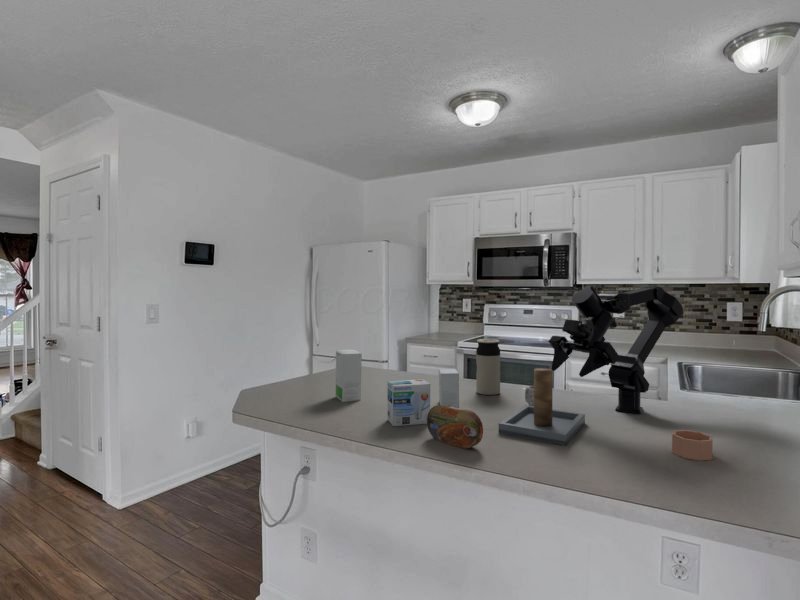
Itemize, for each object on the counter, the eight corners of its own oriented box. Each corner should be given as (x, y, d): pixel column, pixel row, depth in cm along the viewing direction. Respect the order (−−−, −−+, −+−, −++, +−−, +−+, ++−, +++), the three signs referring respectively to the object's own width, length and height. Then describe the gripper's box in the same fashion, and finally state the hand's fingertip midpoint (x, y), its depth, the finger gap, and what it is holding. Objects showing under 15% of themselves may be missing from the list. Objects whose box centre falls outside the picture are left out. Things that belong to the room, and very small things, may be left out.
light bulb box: (392, 427, 117) (392, 386, 116) (386, 419, 123) (386, 380, 123) (431, 423, 120) (431, 383, 119) (423, 416, 126) (423, 378, 126)
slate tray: (525, 413, 128) (525, 405, 128) (584, 423, 119) (584, 413, 119) (498, 433, 111) (498, 423, 111) (565, 445, 102) (565, 435, 102)
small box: (459, 408, 134) (459, 373, 134) (440, 408, 134) (440, 373, 134) (456, 401, 142) (456, 368, 142) (438, 401, 142) (438, 368, 142)
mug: (557, 412, 130) (557, 389, 129) (538, 414, 127) (538, 391, 127) (534, 403, 139) (534, 382, 139) (516, 406, 136) (516, 384, 136)
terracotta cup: (673, 445, 102) (673, 428, 102) (712, 451, 98) (712, 433, 98) (671, 455, 96) (671, 437, 96) (712, 462, 92) (712, 443, 92)
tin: (426, 437, 109) (425, 402, 109) (434, 434, 111) (434, 400, 111) (477, 453, 98) (476, 415, 98) (485, 449, 100) (485, 412, 100)
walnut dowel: (549, 421, 117) (549, 368, 117) (554, 427, 113) (555, 371, 112) (531, 421, 117) (531, 368, 117) (536, 427, 113) (537, 371, 112)
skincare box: (335, 396, 149) (334, 350, 149) (354, 394, 152) (353, 348, 151) (342, 402, 141) (342, 353, 141) (362, 400, 144) (362, 352, 144)
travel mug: (503, 391, 155) (503, 339, 154) (495, 396, 148) (495, 342, 147) (481, 389, 159) (481, 338, 158) (472, 393, 152) (472, 340, 152)
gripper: (553, 307, 128) (524, 348, 124) (611, 310, 112) (580, 358, 107) (572, 333, 132) (545, 374, 128) (631, 339, 116) (602, 387, 111)
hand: (565, 372), depth 118 cm, fingers open, 9 cm apart
